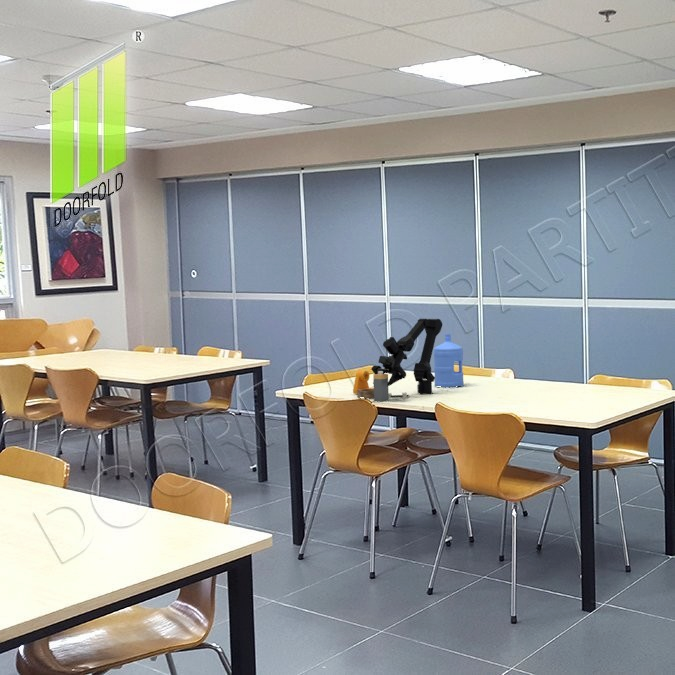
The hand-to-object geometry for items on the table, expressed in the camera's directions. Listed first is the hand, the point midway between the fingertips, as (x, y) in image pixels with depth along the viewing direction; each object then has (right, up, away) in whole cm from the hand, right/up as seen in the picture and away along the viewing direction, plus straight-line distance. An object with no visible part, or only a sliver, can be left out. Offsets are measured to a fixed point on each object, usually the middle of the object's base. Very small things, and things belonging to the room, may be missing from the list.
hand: (380, 385), depth 445 cm
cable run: (+7, -7, +14) cm, 17 cm away
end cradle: (-5, -7, +15) cm, 17 cm away
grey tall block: (0, -8, +1) cm, 8 cm away
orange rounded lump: (-7, -7, +30) cm, 31 cm away
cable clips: (+8, -7, +13) cm, 17 cm away
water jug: (+39, -4, +52) cm, 65 cm away
